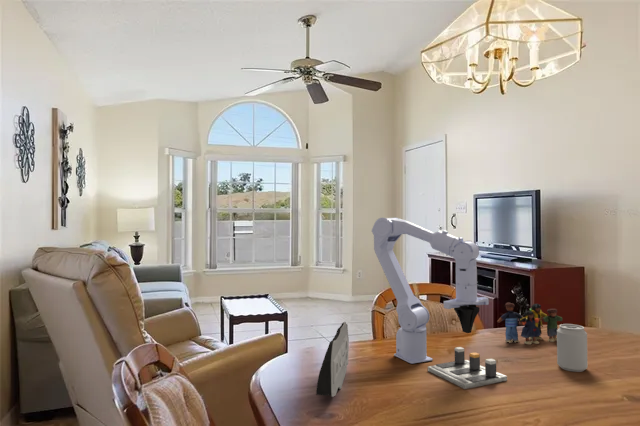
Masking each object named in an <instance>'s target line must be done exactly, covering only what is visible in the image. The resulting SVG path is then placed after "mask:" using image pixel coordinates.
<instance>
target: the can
mask: <svg viewBox="0 0 640 426" xmlns="http://www.w3.org/2000/svg"><path fill="white" fill-rule="evenodd" d="M557 329H558V330H557V335H556V338H557V341H556V363H557V365H558V366H559V367H560V368H561V369H562V370H565V371H567V372H572V373H573V372H575V373H576V372H577V373H580V372H584V371H585V370H587V369H588V366H589V365H588V332H586V330H585V327H584V326H583V325H579V324H573V323H563V324H562V323H561V324H559V327H558V328H557Z"/></svg>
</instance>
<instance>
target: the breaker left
mask: <svg viewBox="0 0 640 426" xmlns="http://www.w3.org/2000/svg"><path fill="white" fill-rule="evenodd" d="M465 360H466V357H465V348H464V347H462V346H457V347H454V361H455V362H456V363H459V364H460V363H465Z"/></svg>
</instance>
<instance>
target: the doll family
mask: <svg viewBox="0 0 640 426" xmlns="http://www.w3.org/2000/svg"><path fill="white" fill-rule="evenodd" d="M504 307H505V310H506V311H507V312H505V313H504V314H502V315H501V316H500V317H499V318H498V320H497V321H496V322H497V323H498V324H500V323H501V322H503V321H505V322H504V323H505V326H504V327H505V342H506V343H507V342H509V343H508V344H512V343H516V342H518V343H520V341H519V335H518V326H520V325H521V326H523V327H522V330H521V333H520V337H522V338H525V340H524V344H525V345H532V344H536V345H537V344H540V342H539V341H538V340H539V339H541V340H543V337H542V336H541V335H542V334H543V333H542V328H543V327H544V326H543V322H544V323H547V324H546V333H547V334H546V335H547V337H548V339H547V342H549V341H550V342H551V343H554V342H555V341H556V342H557V330H558V329H559V327H558V322H563V316H559V315H557V313H558V309H557V308H548V309H546V312H547V313H548V314H546V313H544V312H543V311H542V309H541V307H542V305H541V304H539V303H533V304H532V305H531V308H529V310H526V311H524V313H523V316H522V315H521V314H520V313H518V312H515V311H514V308H515V307H516V306H515V304H514V303H513V302H512V303H511V302H509V301H508V302H505V304H504ZM530 340H531V341H530ZM513 341H514V342H513Z"/></svg>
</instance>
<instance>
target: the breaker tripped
mask: <svg viewBox="0 0 640 426" xmlns="http://www.w3.org/2000/svg"><path fill="white" fill-rule="evenodd" d="M468 354H469V358H468V359H469V363H470V368H471V369H473V370H477V369H480V365H481V361H480V360H481V357H480V356H481V355H480V353H477V352H470V353H468Z"/></svg>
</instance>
